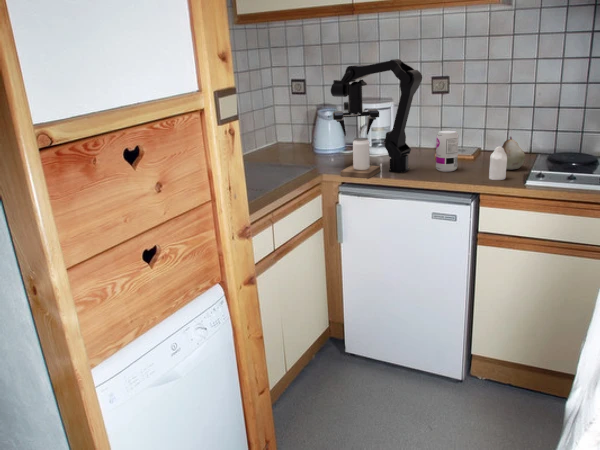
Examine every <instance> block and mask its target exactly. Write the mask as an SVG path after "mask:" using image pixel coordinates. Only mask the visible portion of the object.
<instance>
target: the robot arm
mask: <svg viewBox="0 0 600 450" xmlns="http://www.w3.org/2000/svg"><path fill="white" fill-rule="evenodd" d="M389 71H391V72H392V73H393V75H394V77H396V78H397V79H398V80H399V89H400V97H399V102H398V106H397V110H396V113H395V116H394V118H395V119H394V121H393V125H392V126H393V127H392V129H391V130H390V131H387V132H386V133H385V138H384V141H383V143H384V148H385V150H386V152H387V154H388V156H389V171H388V172H390V173H391V172H392V173H407V172H408V171H409V170H410V167H409V155H410V153H411V151H412V149H411V147H410V146H409V145H408V144H407V143H406V141H407V135H406V132H405V131H406V126H407V123H408V118H409V114H410V110H411V106H412V103H413V100H414V99H413V98H414V95H415V94H416V93H417V91H418V89H419V87H420V86H421V83H422V80H423V75H422V73H421V71H419V70H418V69H414V68H413V67H412V66H410V65H408V64H406V63H405V62H403V61H402V60H401V59H400V58H394V59H390V60H386V61H382V62H377V63H373V64H372V63H371V64H354V65H353V64H352V65H348V66H347V67H346V69H345V71H344V74H343V76H342V77H341V79H333V81H332V82H333V83H332V85H331V88H330V94H331V96H332V97H336V98H346V97H348V101H344V102H343V110H344V111H347V112H344V111H342V110H338V111H337V110H336V111H335V110H334V111H333V112H332V119H333V121H336V122H337V123H339V124H340V126H341V129H342V132H343V135H344V137H346V135H347V133H346V132H347V131H346V126H345V120H344V118H355V117H356V118H357V117H367V122H366V135H367V136H368V135H369V133H370V130H371V127H372V125H373V123H374V121H376V120H377V118H380V111H379V110H378V109H376V108H371V109H368V111H363V108H364V105H363V103H364V102H363V86H367V85H368V83H367V82H366V81H365V80H364V78H366V77H368V76H370V75H374V74H378V73H384V72H389Z"/></svg>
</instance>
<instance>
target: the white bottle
mask: <svg viewBox="0 0 600 450" xmlns="http://www.w3.org/2000/svg"><path fill="white" fill-rule="evenodd" d="M489 156H490V158H489V171H488V172H489V173H488V179H489V180H492V181H501V180H505V179H506V176H507V175H506V174H507V169H506V166H507V155H506V153H505V151H504V149H503V147H502V146H500V145H499V146H497V147H495V148H494V151H493V152H492V153H491V154H490V155H489Z"/></svg>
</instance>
